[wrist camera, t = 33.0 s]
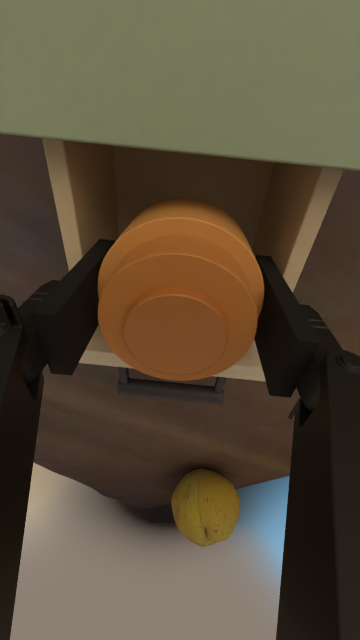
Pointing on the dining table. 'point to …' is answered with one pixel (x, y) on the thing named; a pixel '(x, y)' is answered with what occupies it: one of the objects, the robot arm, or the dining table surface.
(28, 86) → the cabinet
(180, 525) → the fruit
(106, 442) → the dining table surface
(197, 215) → the stepped orange cylinder
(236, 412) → the dining table surface
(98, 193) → the drawer
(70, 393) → the dining table surface
